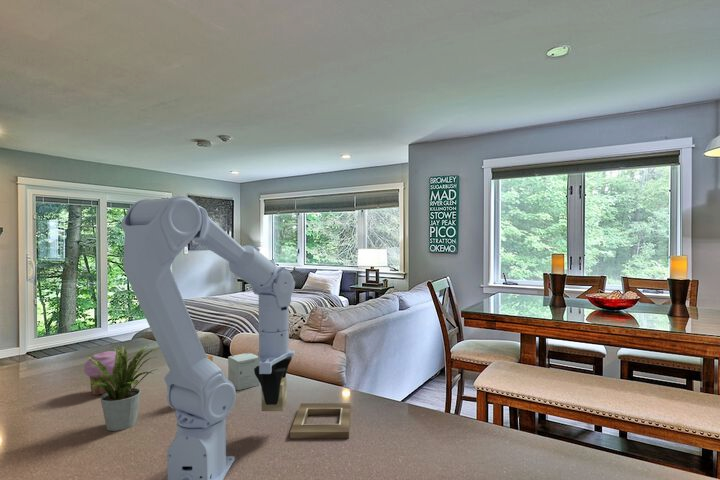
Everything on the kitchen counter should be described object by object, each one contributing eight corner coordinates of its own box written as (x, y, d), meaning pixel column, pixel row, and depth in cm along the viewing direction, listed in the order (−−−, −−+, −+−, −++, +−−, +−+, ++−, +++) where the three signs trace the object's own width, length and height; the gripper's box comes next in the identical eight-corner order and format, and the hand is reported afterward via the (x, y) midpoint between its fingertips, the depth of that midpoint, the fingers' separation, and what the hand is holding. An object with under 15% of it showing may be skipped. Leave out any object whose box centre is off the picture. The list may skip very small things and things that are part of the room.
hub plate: (348, 438, 74) (348, 431, 74) (290, 438, 75) (290, 431, 75) (350, 408, 87) (350, 402, 87) (300, 408, 88) (300, 403, 88)
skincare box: (237, 391, 98) (237, 361, 98) (227, 384, 103) (227, 356, 103) (260, 385, 102) (259, 356, 102) (249, 379, 107) (249, 351, 107)
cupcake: (79, 400, 93) (78, 358, 93) (91, 387, 102) (90, 348, 102) (122, 395, 96) (121, 354, 96) (130, 383, 104) (130, 345, 104)
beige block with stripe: (282, 411, 75) (282, 383, 75) (261, 411, 75) (261, 383, 75) (286, 402, 79) (286, 376, 79) (266, 402, 79) (266, 376, 79)
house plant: (180, 419, 83) (179, 341, 83) (111, 449, 71) (110, 358, 71) (140, 405, 90) (140, 333, 90) (71, 431, 78) (70, 348, 78)
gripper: (287, 338, 70) (287, 415, 70) (300, 321, 85) (300, 385, 85) (247, 338, 70) (247, 415, 70) (267, 321, 85) (267, 385, 85)
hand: (274, 399), depth 77 cm, fingers closed on beige block with stripe, 4 cm apart
